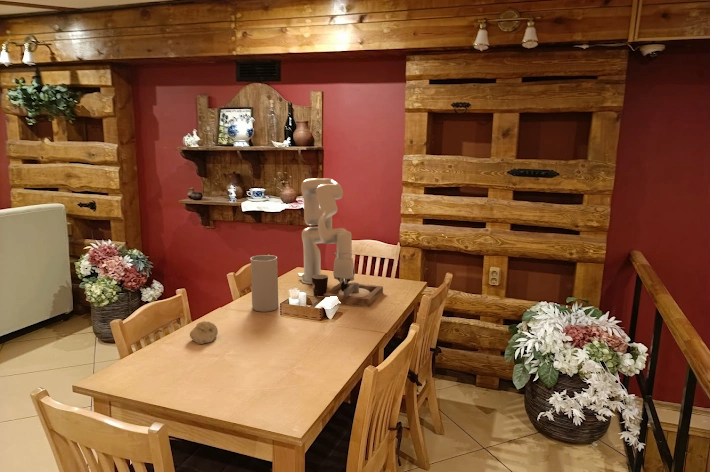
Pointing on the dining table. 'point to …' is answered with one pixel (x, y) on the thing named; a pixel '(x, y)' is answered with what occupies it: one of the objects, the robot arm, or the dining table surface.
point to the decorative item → (204, 332)
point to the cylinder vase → (264, 283)
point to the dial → (354, 291)
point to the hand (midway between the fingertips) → (344, 290)
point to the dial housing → (354, 300)
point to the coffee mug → (319, 284)
